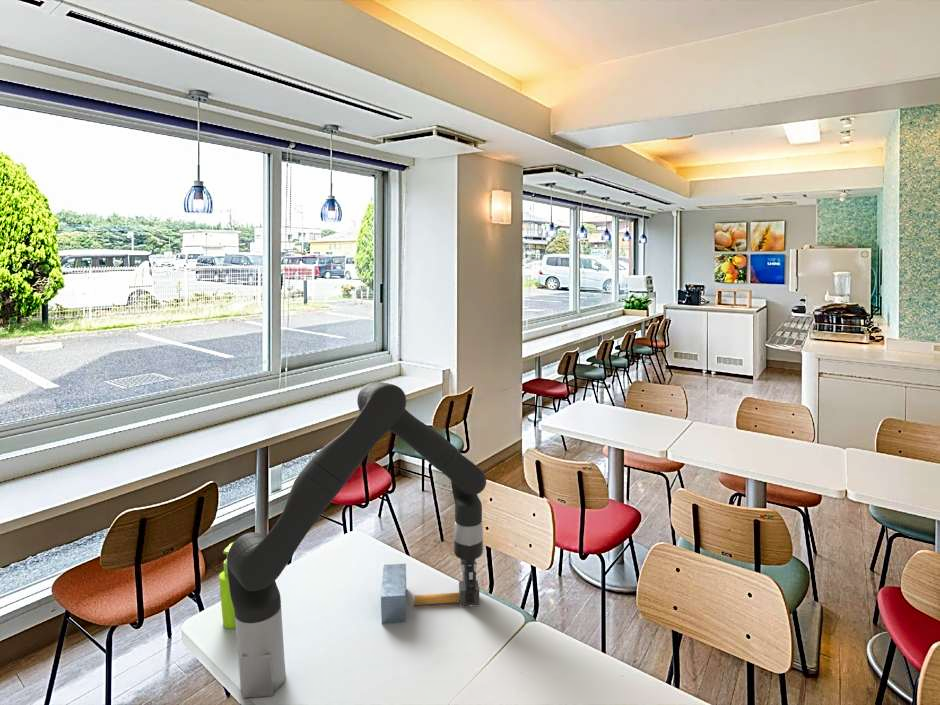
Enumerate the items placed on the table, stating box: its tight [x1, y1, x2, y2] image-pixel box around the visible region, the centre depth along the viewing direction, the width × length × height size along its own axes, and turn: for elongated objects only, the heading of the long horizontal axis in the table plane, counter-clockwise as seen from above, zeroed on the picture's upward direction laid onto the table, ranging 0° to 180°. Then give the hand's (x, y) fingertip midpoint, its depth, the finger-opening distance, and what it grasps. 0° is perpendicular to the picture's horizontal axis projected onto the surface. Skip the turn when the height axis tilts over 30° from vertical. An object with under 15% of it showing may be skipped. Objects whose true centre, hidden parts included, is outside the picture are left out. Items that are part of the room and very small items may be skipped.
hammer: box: [413, 579, 480, 607], centre depth 151 cm, size 4×17×4 cm, turn 96°
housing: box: [380, 563, 407, 625], centre depth 149 cm, size 14×6×8 cm, turn 6°
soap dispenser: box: [218, 541, 236, 630], centre depth 142 cm, size 6×7×20 cm
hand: (468, 594), depth 151 cm, fingers open, 6 cm apart
